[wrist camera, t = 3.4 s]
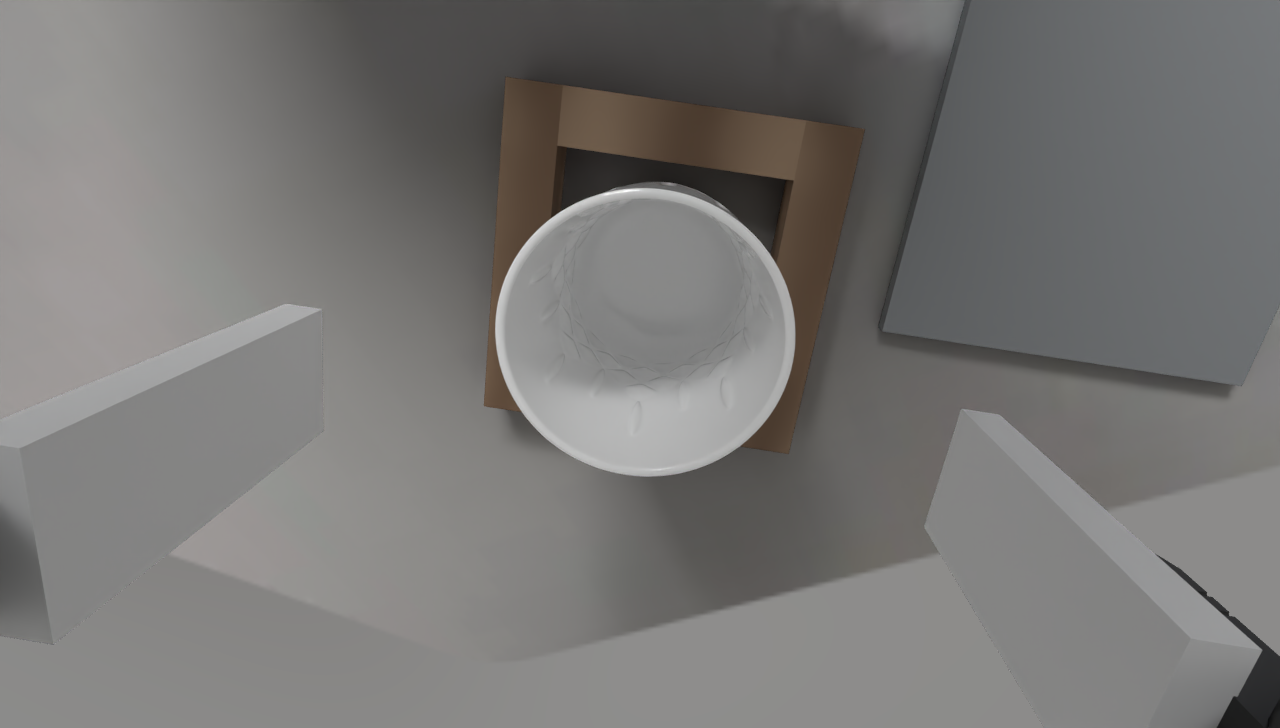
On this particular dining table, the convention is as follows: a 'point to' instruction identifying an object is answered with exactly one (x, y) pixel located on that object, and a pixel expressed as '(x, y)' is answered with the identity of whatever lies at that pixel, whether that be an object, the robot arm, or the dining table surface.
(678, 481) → the dining table surface
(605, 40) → the dining table surface
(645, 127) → the walnut collar
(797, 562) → the dining table surface
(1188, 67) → the grey mat
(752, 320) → the white cup
